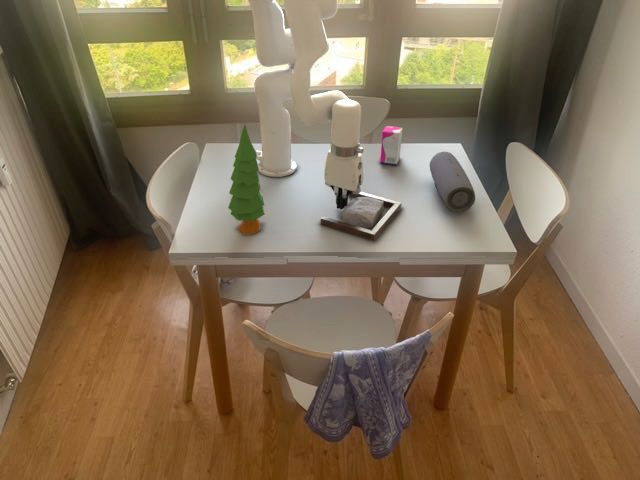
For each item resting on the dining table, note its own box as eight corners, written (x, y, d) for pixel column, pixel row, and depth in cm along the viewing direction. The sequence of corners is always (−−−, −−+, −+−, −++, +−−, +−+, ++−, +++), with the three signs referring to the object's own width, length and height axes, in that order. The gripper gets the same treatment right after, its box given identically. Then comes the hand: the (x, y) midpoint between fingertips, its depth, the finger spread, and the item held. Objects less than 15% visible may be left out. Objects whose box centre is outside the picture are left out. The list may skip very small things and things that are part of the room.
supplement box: (400, 158, 170) (403, 127, 164) (396, 166, 166) (399, 133, 159) (383, 156, 172) (386, 124, 165) (379, 163, 167) (382, 131, 161)
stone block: (340, 229, 137) (375, 230, 133) (337, 213, 135) (373, 214, 131) (353, 210, 146) (386, 210, 142) (351, 195, 144) (384, 195, 140)
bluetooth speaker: (474, 216, 140) (480, 184, 134) (441, 216, 140) (446, 185, 134) (454, 178, 158) (459, 149, 153) (425, 178, 158) (429, 149, 153)
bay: (320, 224, 136) (320, 218, 135) (351, 194, 149) (351, 189, 148) (373, 241, 129) (374, 234, 128) (400, 208, 143) (401, 202, 142)
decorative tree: (267, 236, 131) (259, 128, 114) (231, 240, 129) (218, 131, 112) (264, 217, 138) (256, 114, 121) (230, 220, 137) (217, 116, 120)
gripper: (376, 149, 130) (370, 208, 141) (326, 136, 136) (325, 194, 147) (364, 160, 125) (359, 220, 136) (313, 146, 131) (312, 205, 142)
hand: (341, 206), depth 141 cm, fingers closed
